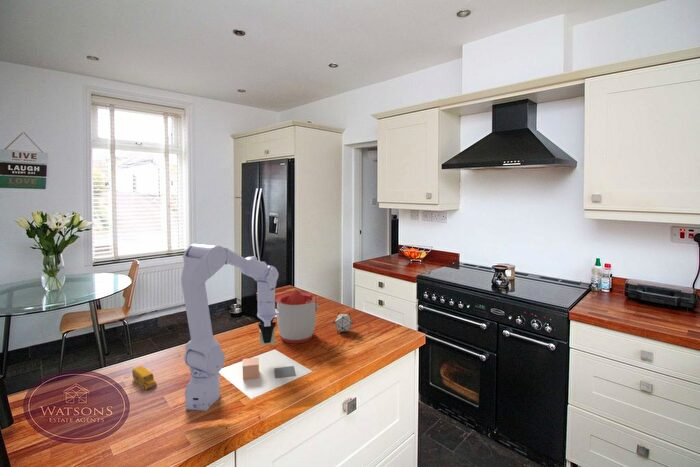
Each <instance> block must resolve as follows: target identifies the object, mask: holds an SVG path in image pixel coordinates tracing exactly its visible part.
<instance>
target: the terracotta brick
mask: <svg viewBox="0 0 700 467" xmlns="http://www.w3.org/2000/svg"><path fill="white" fill-rule="evenodd" d="M242 361H243V380H249V379H257V378H259V357H257V358H252V357H247V358H243V359H242Z"/></svg>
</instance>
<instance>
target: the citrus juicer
mask: <svg viewBox="0 0 700 467" xmlns="http://www.w3.org/2000/svg"><path fill="white" fill-rule="evenodd" d="M275 302H276V311H278V312H279V315H276V322H277V323H276V324H277V330H278V333H279V336H280V339H281V340H282V341H283V342H285V343H287V344H289V343H290V344H301V343H302V344H303V343H306V342H308V341H310V340H311V339H312V337H313V335H314V333H315V332H314V331H315V327H316V319H317V318H316V317H317V316H316V312H317V310H321V307H320V306H319V305H318V303H317V298H314V299H313V294H312V293H309V292H301V291H298V290H294V291H293V292H289V293H284V294H280V295H278V296H277V297H276V298H275Z"/></svg>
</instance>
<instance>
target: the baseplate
mask: <svg viewBox="0 0 700 467" xmlns="http://www.w3.org/2000/svg"><path fill="white" fill-rule="evenodd" d="M257 357H259V378H257V379H249V380H243V360H242V361H238V362H235V363H232V364H231V365H228V366H223V367H222V368H221V371H219V375H220V376H222V377H224V379H226V380H227V381H228V382H229V383H231V384H232V385H233V386H234V387H235V388H237V389H238V391H240V392H242V393H243V394H244V395H245V396H246V397H247V398H249V399H250V400H253V399H255V398H257V397H259V396H262V395H264V394H266V393H268V392H270V391H272V390H275V389H278V388H279V387H281V386H284V385H286V384H289V383H290V382H292V381H295V380H297V379H299V378H302V377H304V376H306V375H308V374H310V373H313V370H311V369H310V368H308V367H306V366H304V365H302V364H301V363H299V362H298V361H296V360H294V359H292V358H290V357H288V356H287V355H285V354H284V353H282V352H280V351H278V350H277V349H275V348H274V349H272V350H269V351H267V352H264V353H261V354H258V355H254V356H252V357H251V358H257Z"/></svg>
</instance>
